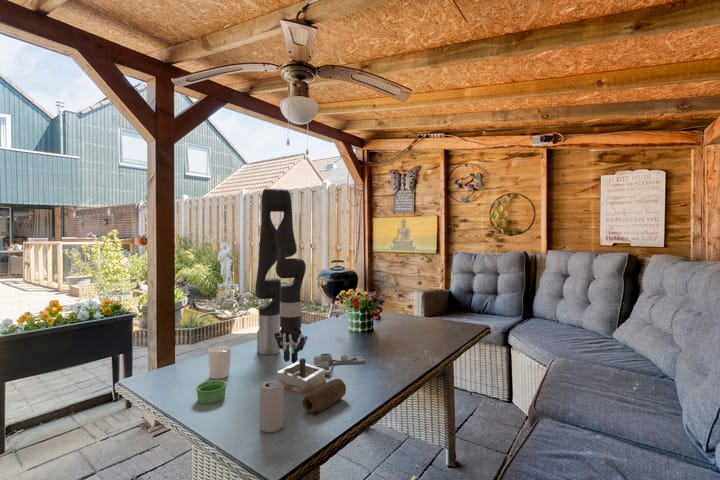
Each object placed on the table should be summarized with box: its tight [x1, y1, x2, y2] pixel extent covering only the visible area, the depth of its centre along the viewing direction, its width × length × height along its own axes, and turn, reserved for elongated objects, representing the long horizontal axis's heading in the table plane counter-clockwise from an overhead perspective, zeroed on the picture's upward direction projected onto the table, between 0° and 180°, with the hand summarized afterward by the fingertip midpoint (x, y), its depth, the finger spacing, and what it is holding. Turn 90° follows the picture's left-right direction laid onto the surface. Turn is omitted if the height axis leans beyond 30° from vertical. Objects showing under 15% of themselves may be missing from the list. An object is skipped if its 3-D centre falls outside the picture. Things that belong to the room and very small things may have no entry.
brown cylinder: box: [301, 378, 347, 414], centre depth 114 cm, size 15×7×7 cm, turn 148°
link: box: [276, 360, 326, 390], centre depth 130 cm, size 12×12×3 cm
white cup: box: [207, 345, 232, 380], centre depth 137 cm, size 8×8×10 cm
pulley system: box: [313, 352, 365, 376], centre depth 149 cm, size 27×5×15 cm
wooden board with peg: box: [282, 357, 327, 395], centre depth 130 cm, size 12×12×9 cm
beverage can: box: [259, 380, 285, 434], centre depth 100 cm, size 6×6×12 cm
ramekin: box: [195, 379, 227, 405], centre depth 118 cm, size 9×9×4 cm
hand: (290, 361), depth 132 cm, fingers open, 2 cm apart
